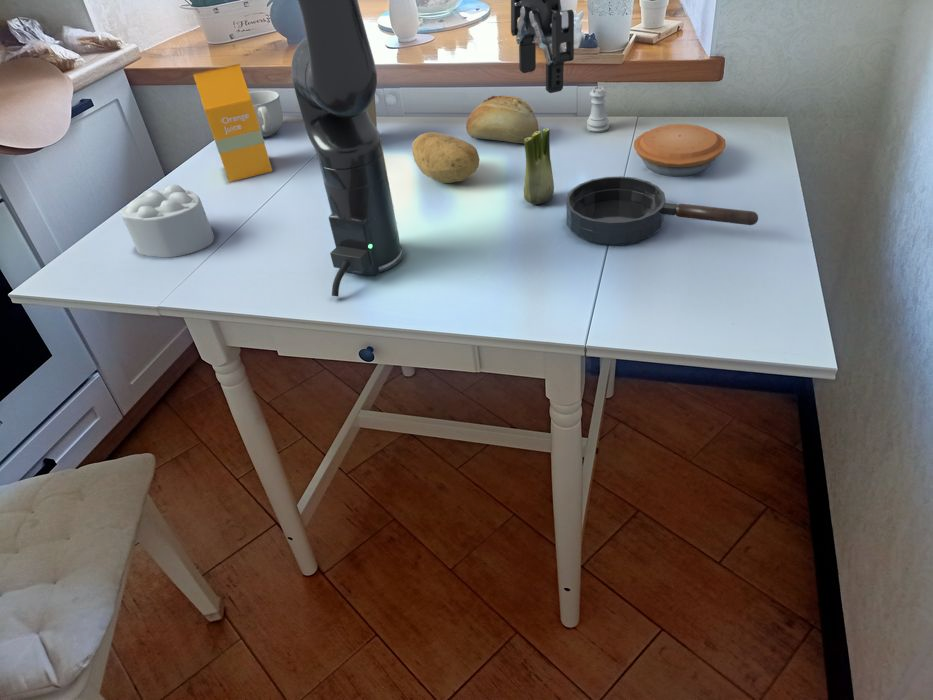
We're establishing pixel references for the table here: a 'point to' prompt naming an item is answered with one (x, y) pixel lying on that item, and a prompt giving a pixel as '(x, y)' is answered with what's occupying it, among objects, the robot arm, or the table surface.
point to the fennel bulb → (538, 168)
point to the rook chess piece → (598, 111)
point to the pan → (615, 210)
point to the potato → (445, 157)
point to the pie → (679, 149)
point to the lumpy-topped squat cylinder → (167, 222)
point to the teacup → (267, 111)
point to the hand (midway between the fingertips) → (540, 81)
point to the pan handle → (711, 213)
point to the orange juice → (233, 122)
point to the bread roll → (502, 120)
